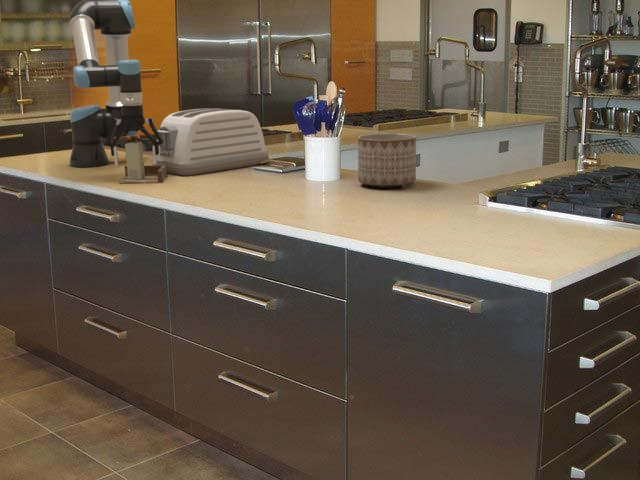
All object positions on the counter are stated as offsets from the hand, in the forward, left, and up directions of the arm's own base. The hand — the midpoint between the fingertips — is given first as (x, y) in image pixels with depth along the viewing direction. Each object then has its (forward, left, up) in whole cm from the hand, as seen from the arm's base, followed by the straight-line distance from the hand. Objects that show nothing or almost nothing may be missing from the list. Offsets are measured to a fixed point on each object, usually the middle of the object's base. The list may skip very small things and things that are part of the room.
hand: (135, 164), depth 317 cm
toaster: (-26, +24, -6) cm, 36 cm away
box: (0, 0, -5) cm, 5 cm away
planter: (+24, +87, -6) cm, 90 cm away
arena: (-1, +2, -6) cm, 6 cm away
